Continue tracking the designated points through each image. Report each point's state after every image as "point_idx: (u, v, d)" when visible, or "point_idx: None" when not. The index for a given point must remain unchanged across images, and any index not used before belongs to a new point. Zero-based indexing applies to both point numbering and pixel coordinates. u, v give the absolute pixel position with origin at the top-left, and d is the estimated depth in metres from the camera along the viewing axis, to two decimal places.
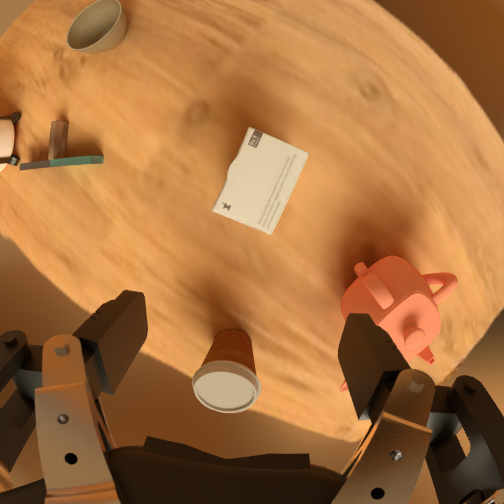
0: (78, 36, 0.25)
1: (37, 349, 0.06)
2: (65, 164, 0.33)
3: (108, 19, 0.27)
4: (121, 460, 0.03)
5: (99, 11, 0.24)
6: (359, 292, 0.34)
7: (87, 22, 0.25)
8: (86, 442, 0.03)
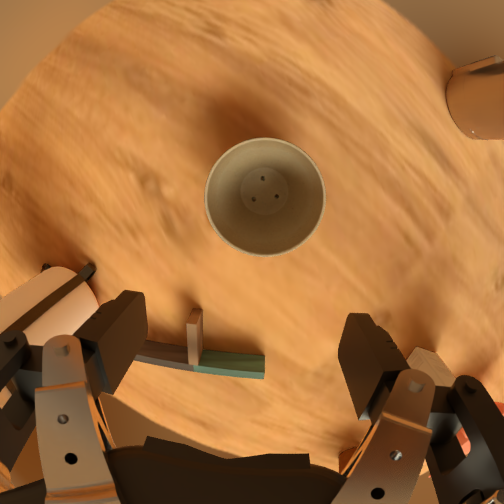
0: (217, 195, 0.24)
1: (37, 349, 0.06)
2: (221, 374, 0.32)
3: (260, 159, 0.26)
4: (121, 460, 0.03)
5: (253, 149, 0.23)
6: None
7: (228, 165, 0.24)
8: (86, 442, 0.03)
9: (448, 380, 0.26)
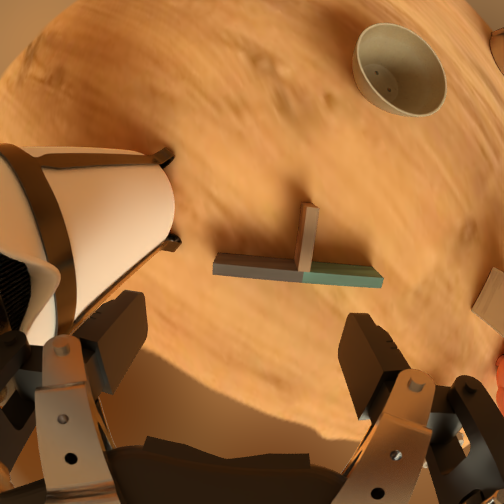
0: None
1: (37, 349, 0.06)
2: (336, 283, 0.27)
3: (379, 53, 0.21)
4: (121, 460, 0.03)
5: (381, 37, 0.18)
6: None
7: (362, 44, 0.19)
8: (86, 442, 0.03)
9: None
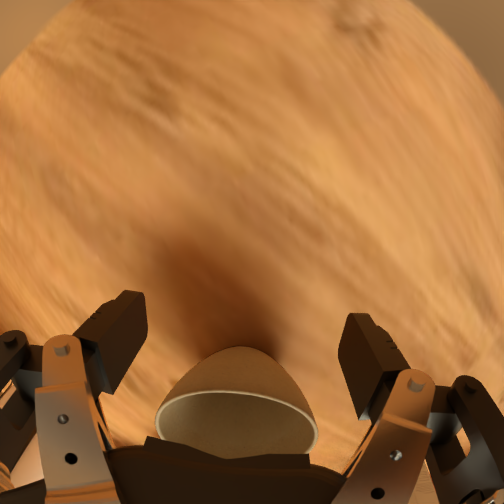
0: (175, 406, 0.16)
1: (37, 349, 0.06)
2: None
3: None
4: (121, 460, 0.03)
5: None
6: None
7: None
8: (86, 442, 0.03)
9: (425, 501, 0.18)
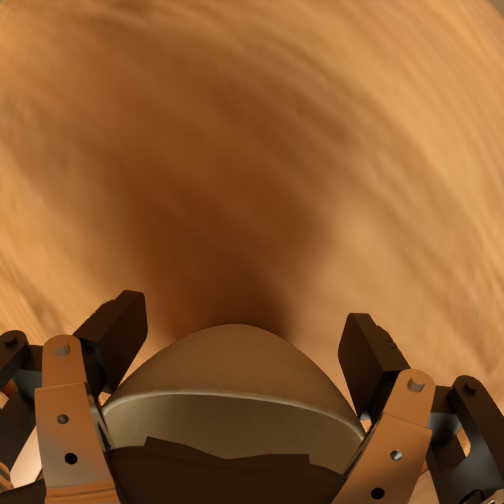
0: (134, 414, 0.10)
1: (37, 349, 0.06)
2: None
3: None
4: (121, 460, 0.03)
5: None
6: None
7: None
8: (86, 442, 0.03)
9: None
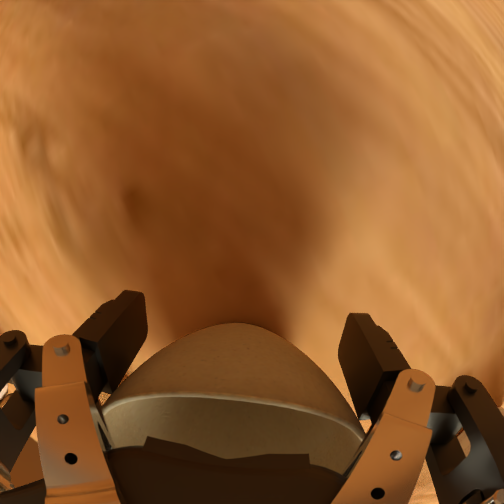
0: (134, 413, 0.10)
1: (37, 349, 0.06)
2: None
3: None
4: (121, 460, 0.03)
5: None
6: None
7: None
8: (86, 442, 0.03)
9: None
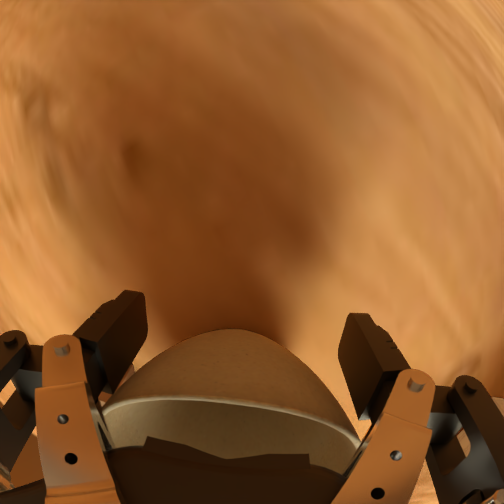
0: (132, 415, 0.10)
1: (37, 349, 0.06)
2: None
3: None
4: (121, 460, 0.03)
5: None
6: None
7: None
8: (86, 442, 0.03)
9: None
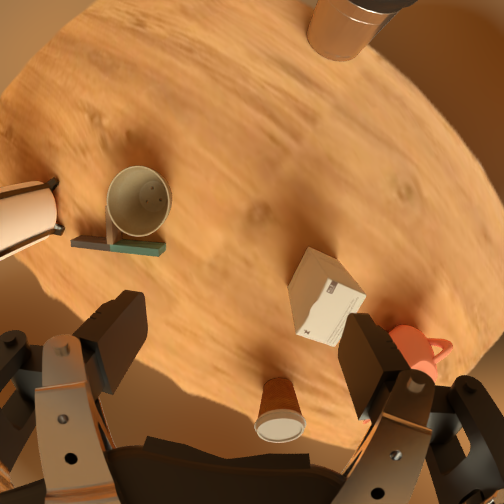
0: (118, 199, 0.37)
1: (37, 349, 0.06)
2: (128, 252, 0.41)
3: (147, 176, 0.39)
4: (121, 460, 0.03)
5: (137, 171, 0.36)
6: None
7: (125, 181, 0.37)
8: (86, 442, 0.03)
9: (331, 267, 0.35)
